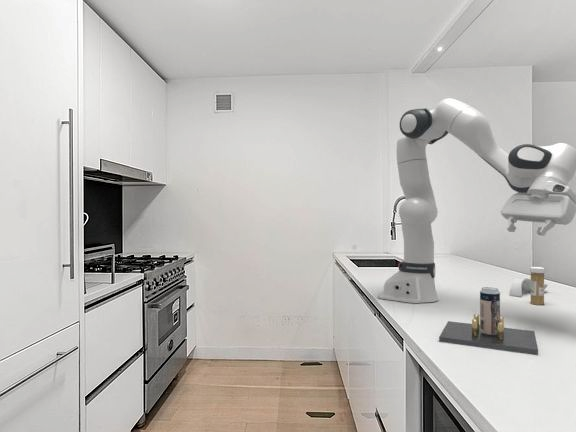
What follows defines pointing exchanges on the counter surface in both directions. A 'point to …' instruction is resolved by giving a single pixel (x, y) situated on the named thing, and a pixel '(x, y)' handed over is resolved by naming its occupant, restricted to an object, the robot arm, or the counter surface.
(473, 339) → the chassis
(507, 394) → the counter surface
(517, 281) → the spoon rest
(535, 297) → the sprinkles bottle
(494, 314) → the beer can
